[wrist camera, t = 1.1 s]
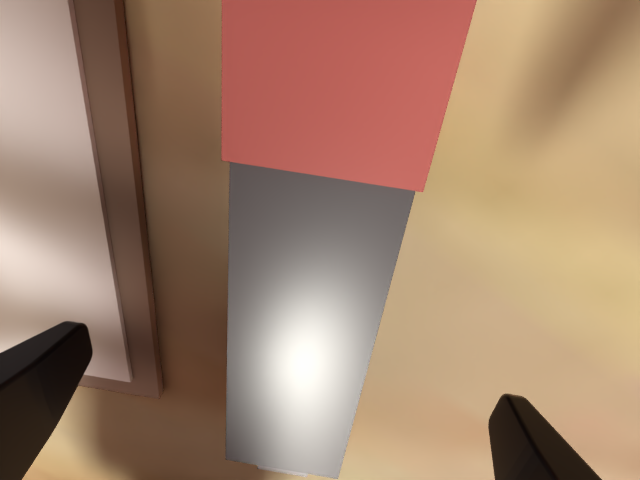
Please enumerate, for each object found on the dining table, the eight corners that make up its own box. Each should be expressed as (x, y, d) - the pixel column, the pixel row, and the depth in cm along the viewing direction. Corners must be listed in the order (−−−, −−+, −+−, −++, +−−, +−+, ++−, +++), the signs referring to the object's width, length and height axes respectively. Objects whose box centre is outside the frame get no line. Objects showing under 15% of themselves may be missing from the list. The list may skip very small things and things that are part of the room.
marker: (339, 415, 17) (332, 515, 13) (248, 400, 17) (220, 495, 14) (438, -4, 9) (479, -10, 6) (273, -28, 9) (222, -47, 6)
